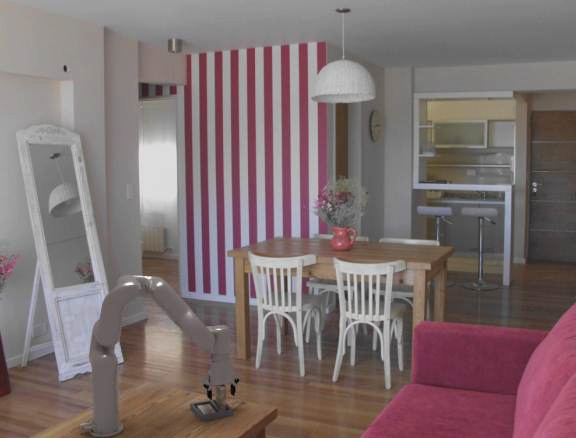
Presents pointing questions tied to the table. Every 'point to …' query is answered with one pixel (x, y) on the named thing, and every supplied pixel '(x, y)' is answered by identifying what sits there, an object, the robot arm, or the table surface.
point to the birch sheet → (221, 397)
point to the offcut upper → (205, 409)
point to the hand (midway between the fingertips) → (221, 396)
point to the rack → (210, 416)
